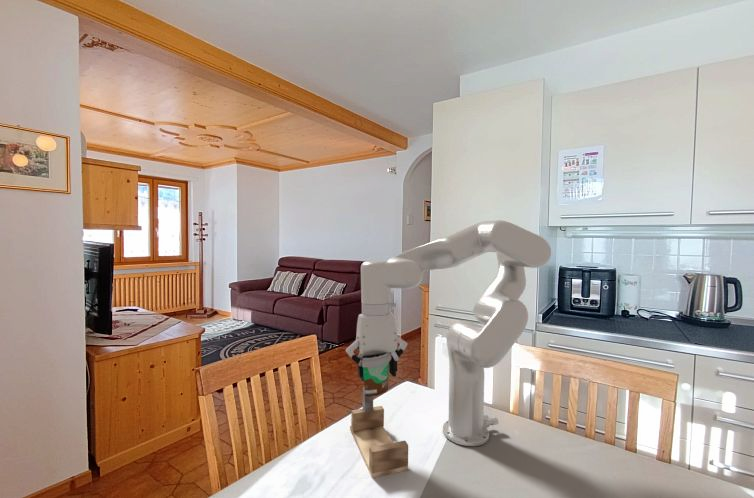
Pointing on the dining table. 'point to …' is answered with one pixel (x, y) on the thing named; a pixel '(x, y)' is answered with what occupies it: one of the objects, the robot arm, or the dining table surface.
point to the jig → (381, 451)
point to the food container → (376, 374)
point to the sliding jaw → (367, 415)
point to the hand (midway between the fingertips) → (377, 376)
